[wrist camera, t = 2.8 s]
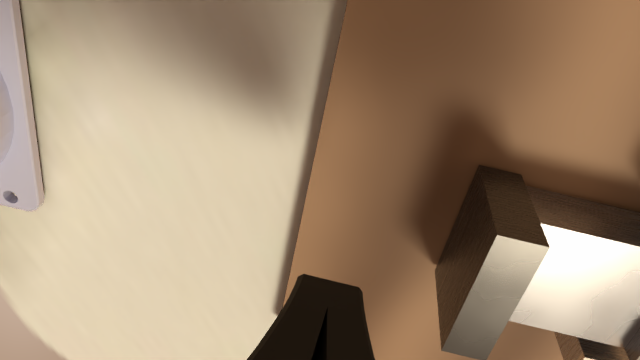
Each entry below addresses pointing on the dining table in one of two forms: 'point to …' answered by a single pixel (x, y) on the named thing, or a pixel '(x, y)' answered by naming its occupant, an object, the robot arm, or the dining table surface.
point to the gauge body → (587, 349)
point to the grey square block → (537, 267)
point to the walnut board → (461, 143)
